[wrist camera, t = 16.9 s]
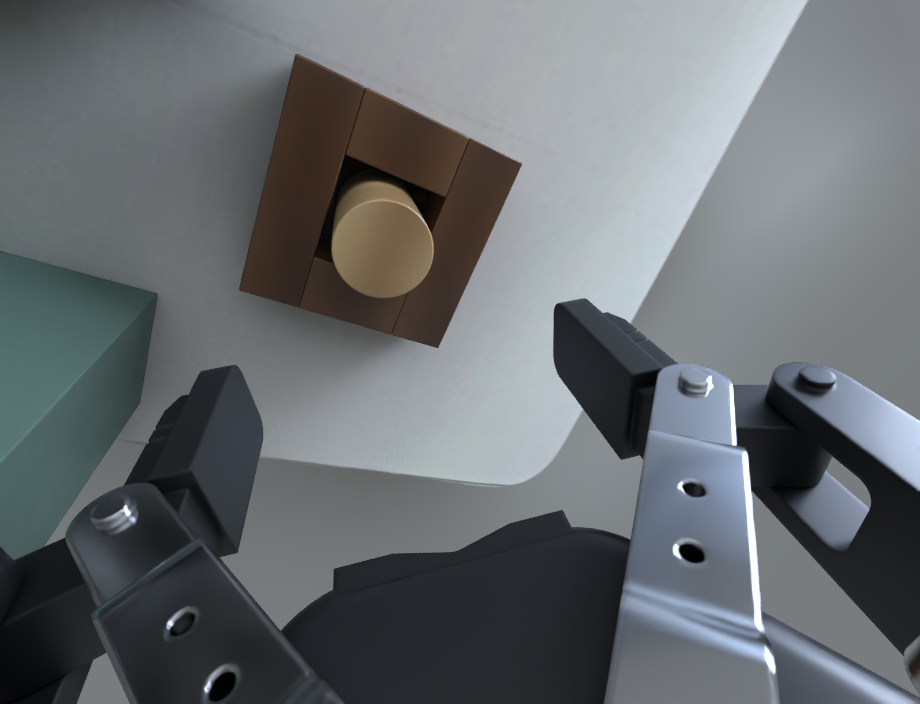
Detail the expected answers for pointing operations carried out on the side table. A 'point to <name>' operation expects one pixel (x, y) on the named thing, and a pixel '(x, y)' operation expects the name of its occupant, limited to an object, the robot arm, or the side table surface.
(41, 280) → the stand
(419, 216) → the peg
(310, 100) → the socket block
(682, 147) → the side table surface
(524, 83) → the side table surface
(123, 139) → the side table surface
